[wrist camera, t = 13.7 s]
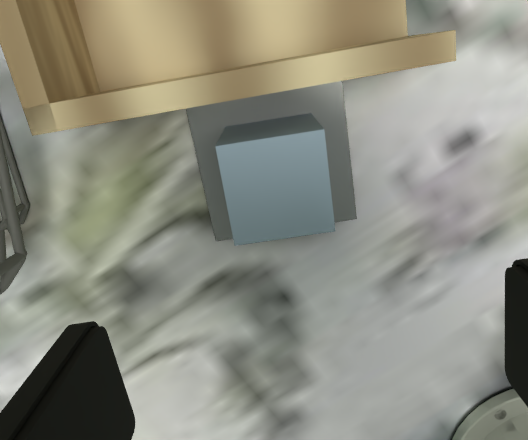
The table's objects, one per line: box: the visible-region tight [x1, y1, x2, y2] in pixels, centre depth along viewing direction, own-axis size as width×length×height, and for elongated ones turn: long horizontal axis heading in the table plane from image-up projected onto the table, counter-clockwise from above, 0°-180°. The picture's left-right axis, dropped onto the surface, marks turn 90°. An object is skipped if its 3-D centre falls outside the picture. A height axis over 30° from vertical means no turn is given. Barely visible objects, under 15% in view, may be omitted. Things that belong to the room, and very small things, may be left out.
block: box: [215, 113, 335, 246], centre depth 24 cm, size 5×5×6 cm
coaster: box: [186, 81, 357, 241], centre depth 27 cm, size 9×9×1 cm
